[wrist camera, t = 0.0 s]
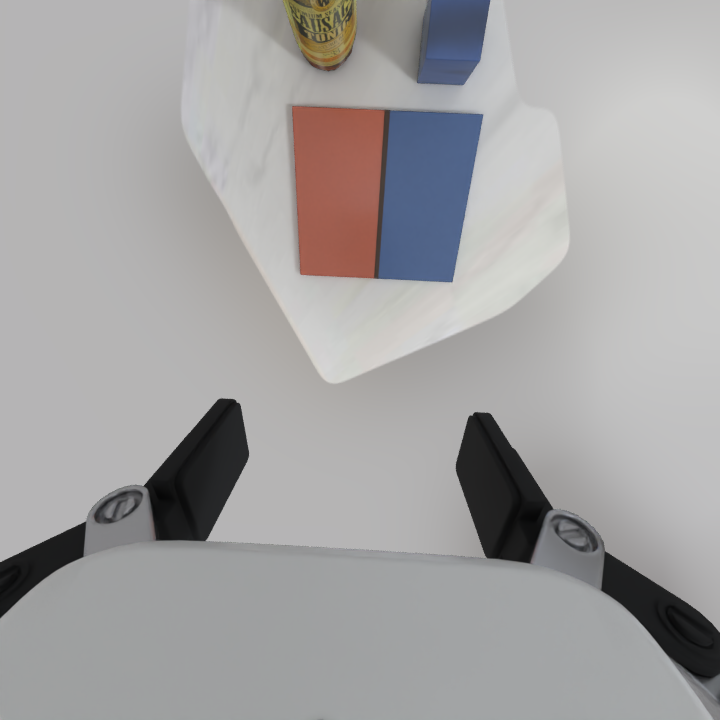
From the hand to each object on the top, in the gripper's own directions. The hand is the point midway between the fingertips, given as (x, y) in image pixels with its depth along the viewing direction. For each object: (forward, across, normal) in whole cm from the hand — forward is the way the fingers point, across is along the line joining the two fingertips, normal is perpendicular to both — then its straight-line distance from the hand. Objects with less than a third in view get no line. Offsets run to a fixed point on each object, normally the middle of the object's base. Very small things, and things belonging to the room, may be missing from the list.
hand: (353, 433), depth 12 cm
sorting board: (+31, -2, -10) cm, 33 cm away
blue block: (+31, -7, -24) cm, 40 cm away
